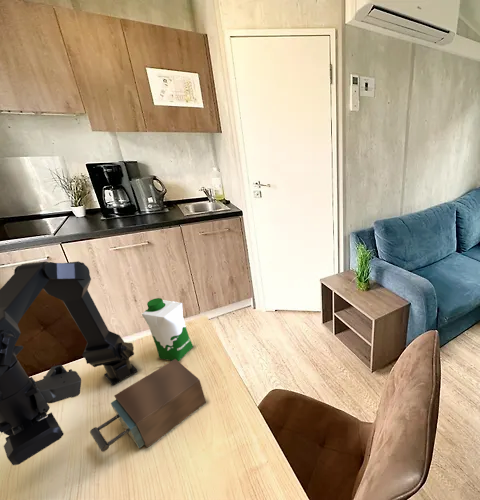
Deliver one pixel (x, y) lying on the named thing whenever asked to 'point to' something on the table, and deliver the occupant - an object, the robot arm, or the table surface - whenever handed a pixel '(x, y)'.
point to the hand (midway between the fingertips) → (44, 445)
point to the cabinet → (162, 400)
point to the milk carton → (168, 328)
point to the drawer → (129, 428)
